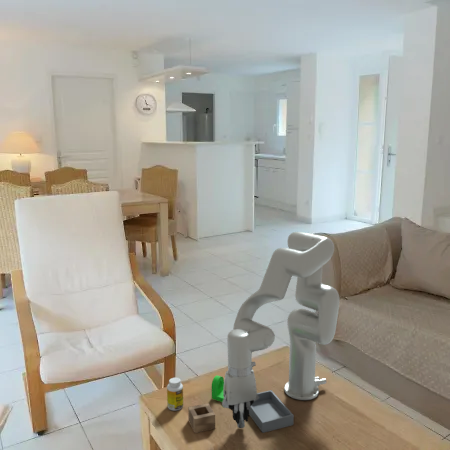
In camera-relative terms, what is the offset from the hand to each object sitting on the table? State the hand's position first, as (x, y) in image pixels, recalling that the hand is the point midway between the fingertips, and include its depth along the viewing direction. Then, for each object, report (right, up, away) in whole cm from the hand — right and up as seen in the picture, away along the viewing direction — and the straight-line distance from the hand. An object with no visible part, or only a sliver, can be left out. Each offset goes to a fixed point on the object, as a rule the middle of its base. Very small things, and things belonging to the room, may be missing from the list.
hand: (240, 419), depth 149 cm
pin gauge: (0, -2, 0) cm, 2 cm away
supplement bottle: (-23, -1, +13) cm, 26 cm away
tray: (+9, -2, +8) cm, 12 cm away
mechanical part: (-4, 0, +21) cm, 22 cm away
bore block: (-13, -3, +3) cm, 14 cm away
